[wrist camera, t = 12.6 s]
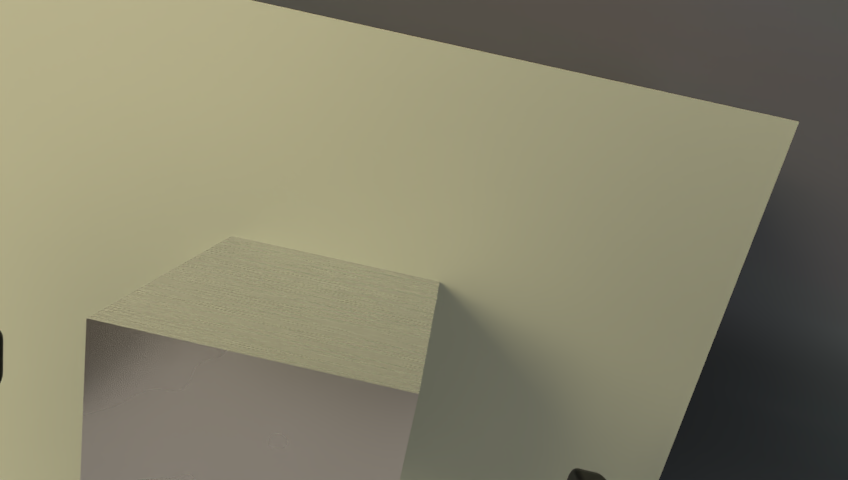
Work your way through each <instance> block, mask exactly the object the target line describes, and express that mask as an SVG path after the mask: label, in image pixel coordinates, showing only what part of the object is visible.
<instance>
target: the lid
mask: <svg viewBox="0 0 848 480" xmlns="http://www.w3.org/2000/svg"><path fill="white" fill-rule="evenodd" d="M798 124H799V122H798V121H793V120H789V119H784V118H780V117H775V116H771V115H766V114H762V113H757V112H753V111H748V110H744V109H739V108H735V107H730V106H726V105H721V104H717V103H712V102H708V101H703V100H699V99H694V98H690V97H685V96H681V95H676V94H672V93H667V92H663V91H658V90H654V89H649V88H645V87H640V86H636V85H631V84H627V83H622V82H617V81H613V80H608V79H604V78H599V77H595V76H590V75H586V74H581V73H577V72H572V71H568V70H563V69H559V68H554V67H550V66H545V65H541V64H536V63H532V62H527V61H523V60H518V59H514V58H509V57H505V56H500V55H496V54H491V53H487V52H482V51H478V50H473V49H469V48H464V47H460V46H455V45H451V44H446V43H442V42H437V41H433V40H428V39H423V38H419V37H414V36H410V35H405V34H401V33H396V32H392V31H387V30H383V29H378V28H374V27H369V26H365V25H360V24H356V23H351V22H347V21H342V20H338V19H333V18H329V17H324V16H320V15H315V14H311V13H306V12H302V11H297V10H293V9H288V8H284V7H279V6H275V5H270V4H266V3H261V2H257V1H252V0H0V331H1V332H2V334H3V377H2V381H1V383H0V480H80V472H81V446H82V421H83V395H84V369H85V343H86V318H88V317H90V316H91V315H93V314H95V313H97V312H98V311H100V310H102V309H104V308H105V307H107V306H109V305H111V304H113V303H114V302H116V301H118V300H120V299H121V298H123V297H125V296H127V295H128V294H130V293H132V292H134V291H135V290H137V289H139V288H141V287H142V286H144V285H146V284H148V283H149V282H151V281H153V280H155V279H156V278H158V277H160V276H162V275H163V274H165V273H167V272H169V271H171V270H172V269H174V268H176V267H178V266H179V265H181V264H183V263H185V262H186V261H188V260H190V259H192V258H193V257H195V256H197V255H199V254H200V253H202V252H204V251H206V250H207V249H209V248H211V247H213V246H214V245H216V244H218V243H220V242H221V241H223V240H225V239H227V238H229V237H230V236H235V237H239V238H244V239H248V240H253V241H257V242H262V243H266V244H271V245H276V246H280V247H285V248H289V249H294V250H298V251H303V252H307V253H312V254H316V255H321V256H326V257H330V258H335V259H339V260H344V261H348V262H353V263H357V264H362V265H366V266H371V267H375V268H380V269H385V270H389V271H394V272H398V273H403V274H407V275H412V276H416V277H421V278H425V279H430V280H434V281H439V282H440V283H439V288H438V294H437V299H436V305H435V310H434V315H433V321H432V326H431V331H430V337H429V342H428V348H427V353H426V358H425V364H424V369H423V374H422V380H421V385H420V391H419V396H418V400H417V405H416V409H415V414H414V418H413V422H412V427H411V431H410V436H409V440H408V445H407V449H406V454H405V458H404V463H403V467H402V472H401V476H400V480H567V478H568V476H569V474H570V472H571V471H572V470H573V469H574V468H580V469H584V470H588V471H592V472H597V473H599V474H601V475H602V476H603V477H604V478H605V479H606V480H659V478H660V476H661V473H662V471H663V468H664V466H665V463H666V460H667V458H668V455H669V453H670V450H671V448H672V445H673V443H674V440H675V437H676V435H677V432H678V430H679V427H680V425H681V422H682V420H683V417H684V414H685V412H686V409H687V407H688V404H689V402H690V399H691V397H692V394H693V391H694V389H695V386H696V384H697V381H698V379H699V376H700V374H701V371H702V369H703V366H704V363H705V361H706V358H707V356H708V353H709V351H710V348H711V346H712V343H713V340H714V338H715V335H716V333H717V330H718V328H719V325H720V323H721V320H722V317H723V315H724V312H725V310H726V307H727V305H728V302H729V300H730V297H731V295H732V292H733V289H734V287H735V284H736V282H737V279H738V277H739V274H740V272H741V269H742V266H743V264H744V261H745V259H746V256H747V254H748V251H749V249H750V246H751V243H752V241H753V238H754V236H755V233H756V231H757V228H758V226H759V223H760V220H761V218H762V215H763V213H764V210H765V208H766V205H767V203H768V200H769V198H770V195H771V192H772V190H773V187H774V185H775V182H776V180H777V177H778V175H779V172H780V169H781V167H782V164H783V162H784V159H785V157H786V154H787V152H788V149H789V146H790V144H791V141H792V139H793V136H794V134H795V131H796V129H797V126H798Z"/></svg>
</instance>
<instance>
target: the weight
mask: <svg viewBox="0 0 848 480" xmlns="http://www.w3.org/2000/svg"><path fill="white" fill-rule="evenodd" d="M439 283H440V282H439V281H434V280H430V279H425V278H421V277H416V276H412V275H407V274H403V273H398V272H394V271H389V270H385V269H380V268H375V267H371V266H366V265H362V264H357V263H353V262H348V261H344V260H339V259H335V258H330V257H326V256H321V255H316V254H312V253H307V252H303V251H298V250H294V249H289V248H285V247H280V246H276V245H271V244H266V243H262V242H257V241H253V240H248V239H244V238H239V237H235V236H230V237H229V238H227V239H225V240H223V241H221V242H220V243H218V244H216V245H214V246H213V247H211V248H209V249H207V250H206V251H204V252H202V253H200V254H199V255H197V256H195V257H193V258H192V259H190V260H188V261H186V262H185V263H183V264H181V265H179V266H178V267H176V268H174V269H172V270H171V271H169V272H167V273H165V274H163V275H162V276H160V277H158V278H156V279H155V280H153V281H151V282H149V283H148V284H146V285H144V286H142V287H141V288H139V289H137V290H135V291H134V292H132V293H130V294H128V295H127V296H125V297H123V298H121V299H120V300H118V301H116V302H114V303H113V304H111V305H109V306H107V307H105V308H104V309H102V310H100V311H98V312H97V313H95V314H93V315H91V316H90V317H88V318H86V343H85V369H84V395H83V421H82V446H81V472H80V480H400V476H401V472H402V467H403V463H404V458H405V454H406V449H407V445H408V440H409V436H410V431H411V427H412V422H413V418H414V414H415V409H416V405H417V400H418V396H419V391H420V385H421V380H422V374H423V369H424V364H425V358H426V353H427V348H428V342H429V337H430V331H431V326H432V321H433V315H434V310H435V305H436V299H437V294H438V288H439Z"/></svg>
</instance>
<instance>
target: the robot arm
mask: <svg viewBox="0 0 848 480" xmlns="http://www.w3.org/2000/svg"><path fill="white" fill-rule="evenodd" d="M2 377H3V334H2V332H1V331H0V383H1V381H2ZM567 480H606V479H605V478H604V477H603V476H602V475H601V474H599V473H597V472H592V471H588V470H584V469H580V468H574V469H573V470H572V471H571V472H570V474H569V476H568V478H567Z"/></svg>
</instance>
